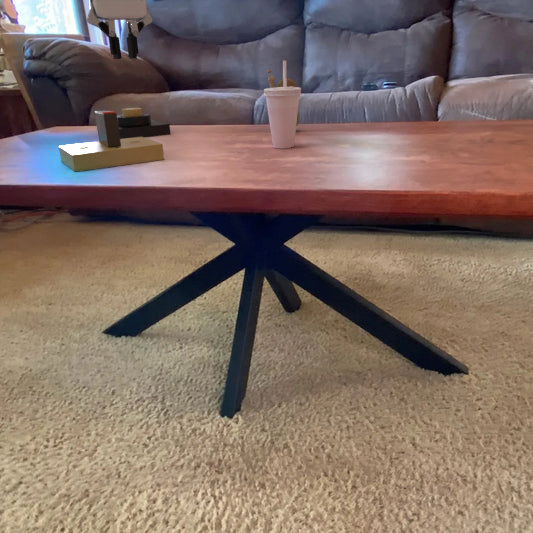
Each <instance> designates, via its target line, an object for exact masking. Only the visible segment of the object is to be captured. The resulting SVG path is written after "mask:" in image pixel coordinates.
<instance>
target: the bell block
mask: <svg viewBox="0 0 533 533" xmlns="http://www.w3.org/2000/svg"><path fill="white" fill-rule="evenodd" d="M142 115H143V116H135V117H123V114H119V115H117V121H118V128H119V135H120V139H125V138H134V137H144V138H151V137H161V136H169V135H171V127H170V126H171V125H170V123H169V122H168V123H167V122H163V121H160V120H156V119H151V114H150V113H142Z"/></svg>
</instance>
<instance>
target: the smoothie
mask: <svg viewBox="0 0 533 533" xmlns="http://www.w3.org/2000/svg"><path fill="white" fill-rule="evenodd" d="M287 78H288V77H287V60H282V79H283V87H277V86H276V88H270V87H267V88H264V89H263V96H264V97H265V100H266V101H265V102H266V108H267V114H268V122H269V127H270V128H269V129H270V135H271V142H272V148H274V149H292V148H294V147H295V142H296V132H297V126H296V124H297V114H298V113H299V104H300V95H302V88H301V87H300V86H299V87H298V86H297V87H287ZM291 147H292V148H291Z"/></svg>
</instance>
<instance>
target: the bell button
mask: <svg viewBox="0 0 533 533" xmlns="http://www.w3.org/2000/svg"><path fill="white" fill-rule="evenodd" d="M121 111H122V115H123V117H135V116H143V115H142V114H143V108H142V107H127V108H122V109H121Z"/></svg>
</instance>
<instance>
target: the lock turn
mask: <svg viewBox="0 0 533 533" xmlns="http://www.w3.org/2000/svg"><path fill="white" fill-rule="evenodd" d="M117 116H118V115H117V112H116V111H115V110H95V111H94V118H95V125H96V130H97V131H96V132H97V136H98V142H99V143H100V144H102V145H104V146H107V147H118V146H121V142H120V135H119V128H118V121H117Z"/></svg>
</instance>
